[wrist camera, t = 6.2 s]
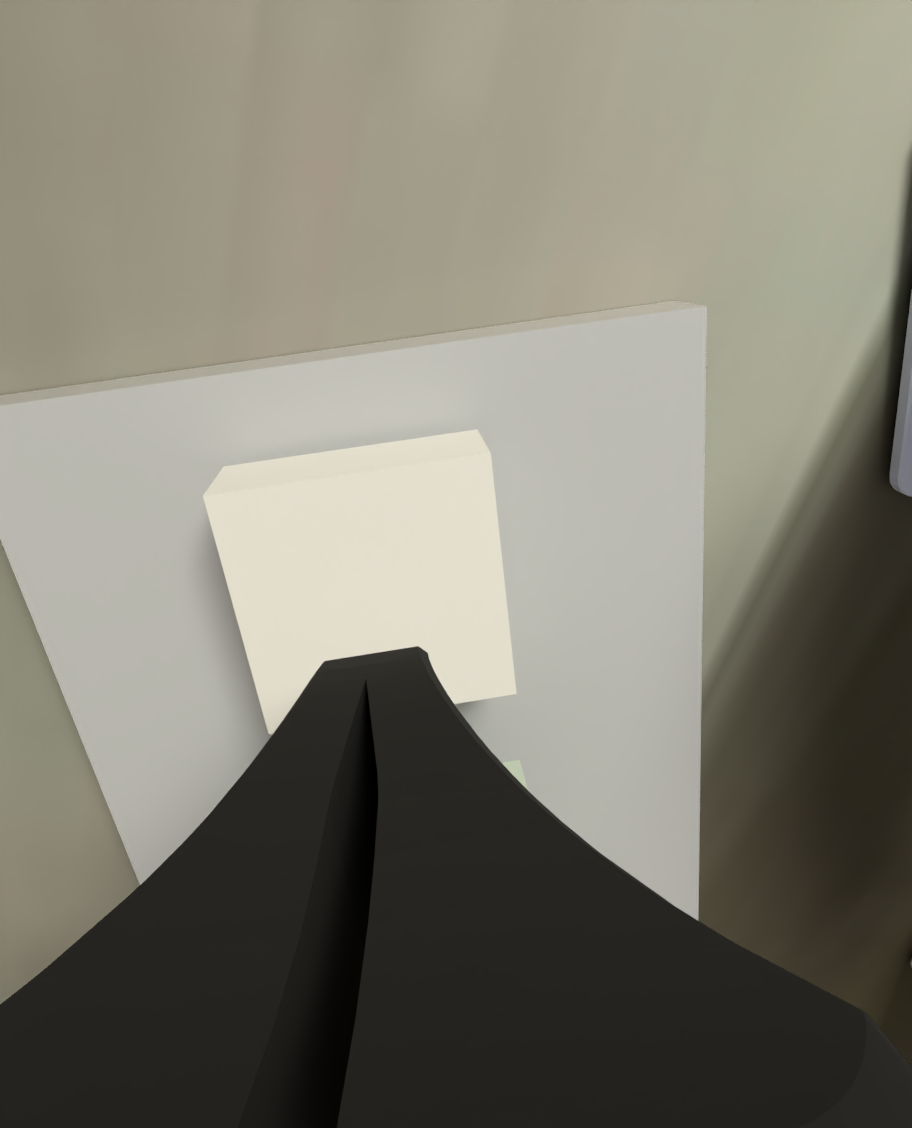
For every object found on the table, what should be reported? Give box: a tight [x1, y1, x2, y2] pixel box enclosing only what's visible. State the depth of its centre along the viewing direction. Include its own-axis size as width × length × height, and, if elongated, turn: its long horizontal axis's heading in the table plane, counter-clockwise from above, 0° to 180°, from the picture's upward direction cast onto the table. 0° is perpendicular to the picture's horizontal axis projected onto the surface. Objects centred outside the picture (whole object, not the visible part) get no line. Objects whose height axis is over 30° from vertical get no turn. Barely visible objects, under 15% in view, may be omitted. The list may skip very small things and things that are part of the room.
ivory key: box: [203, 429, 517, 734], centre depth 15 cm, size 5×5×3 cm
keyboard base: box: [0, 301, 707, 920], centre depth 19 cm, size 14×22×2 cm, turn 7°
